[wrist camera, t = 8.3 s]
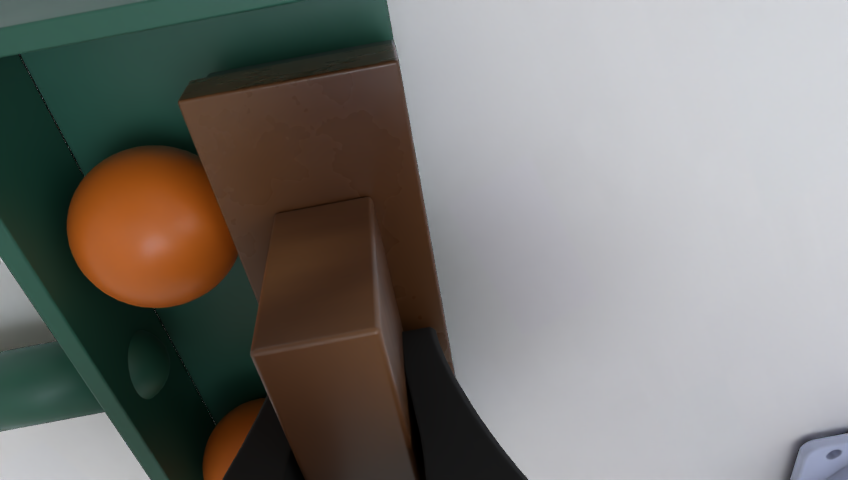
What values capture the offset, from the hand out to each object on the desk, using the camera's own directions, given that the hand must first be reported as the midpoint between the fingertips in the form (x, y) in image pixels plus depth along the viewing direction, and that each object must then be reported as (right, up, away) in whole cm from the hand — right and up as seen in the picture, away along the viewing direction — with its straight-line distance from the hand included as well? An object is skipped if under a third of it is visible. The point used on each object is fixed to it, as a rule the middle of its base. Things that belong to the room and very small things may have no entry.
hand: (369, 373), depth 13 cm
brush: (0, +2, +2) cm, 3 cm away
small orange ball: (-4, +3, -1) cm, 5 cm away
